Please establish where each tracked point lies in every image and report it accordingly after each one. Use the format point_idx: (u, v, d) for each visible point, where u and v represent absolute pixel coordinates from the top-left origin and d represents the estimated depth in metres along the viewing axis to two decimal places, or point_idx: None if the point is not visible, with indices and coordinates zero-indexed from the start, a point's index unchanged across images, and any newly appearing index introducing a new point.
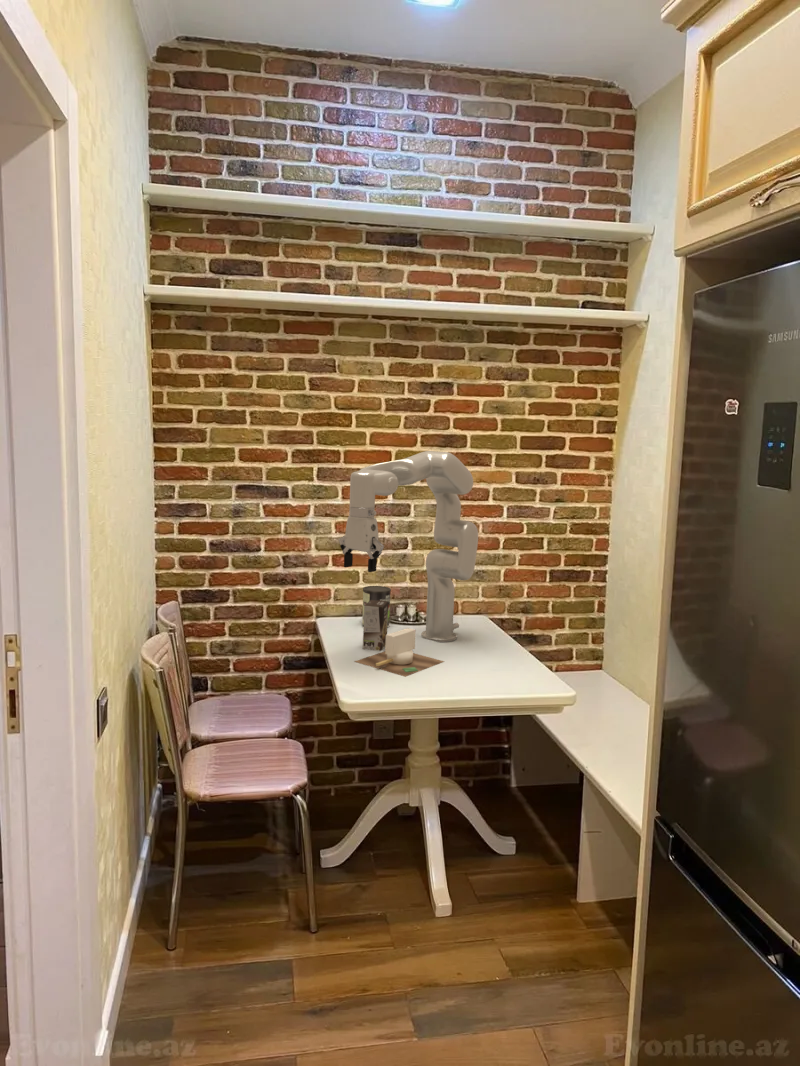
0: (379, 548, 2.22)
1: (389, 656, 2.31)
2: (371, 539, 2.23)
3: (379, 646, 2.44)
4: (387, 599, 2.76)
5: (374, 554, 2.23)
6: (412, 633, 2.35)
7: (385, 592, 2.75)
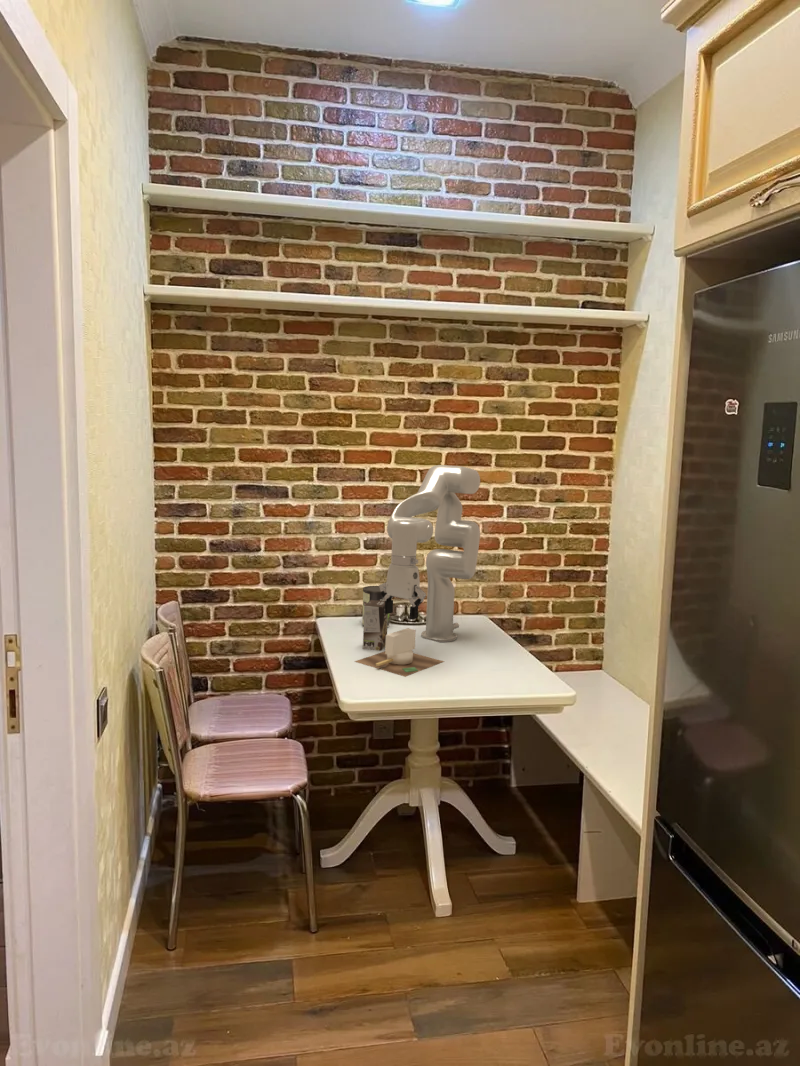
0: (421, 596, 2.25)
1: (389, 656, 2.31)
2: (413, 587, 2.26)
3: (379, 646, 2.44)
4: None
5: (416, 602, 2.26)
6: (412, 633, 2.35)
7: None
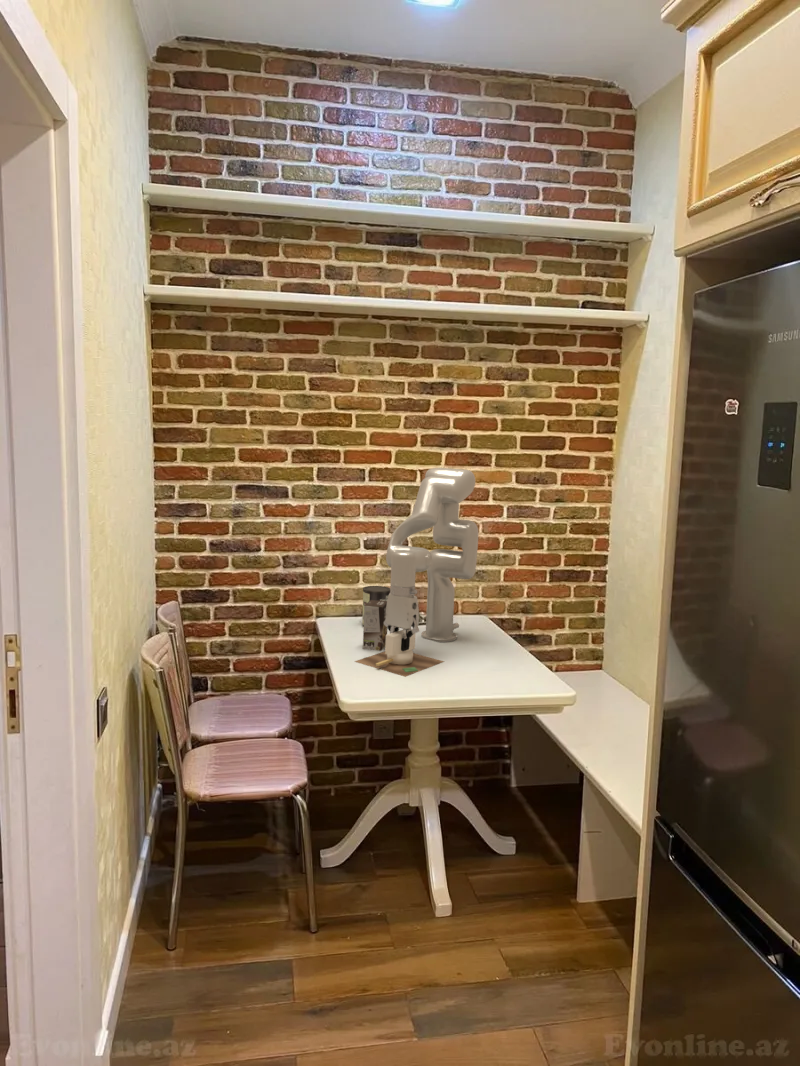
0: (414, 631, 2.29)
1: (389, 656, 2.31)
2: (412, 617, 2.28)
3: (379, 646, 2.44)
4: (387, 599, 2.76)
5: (408, 636, 2.30)
6: None
7: (385, 592, 2.75)
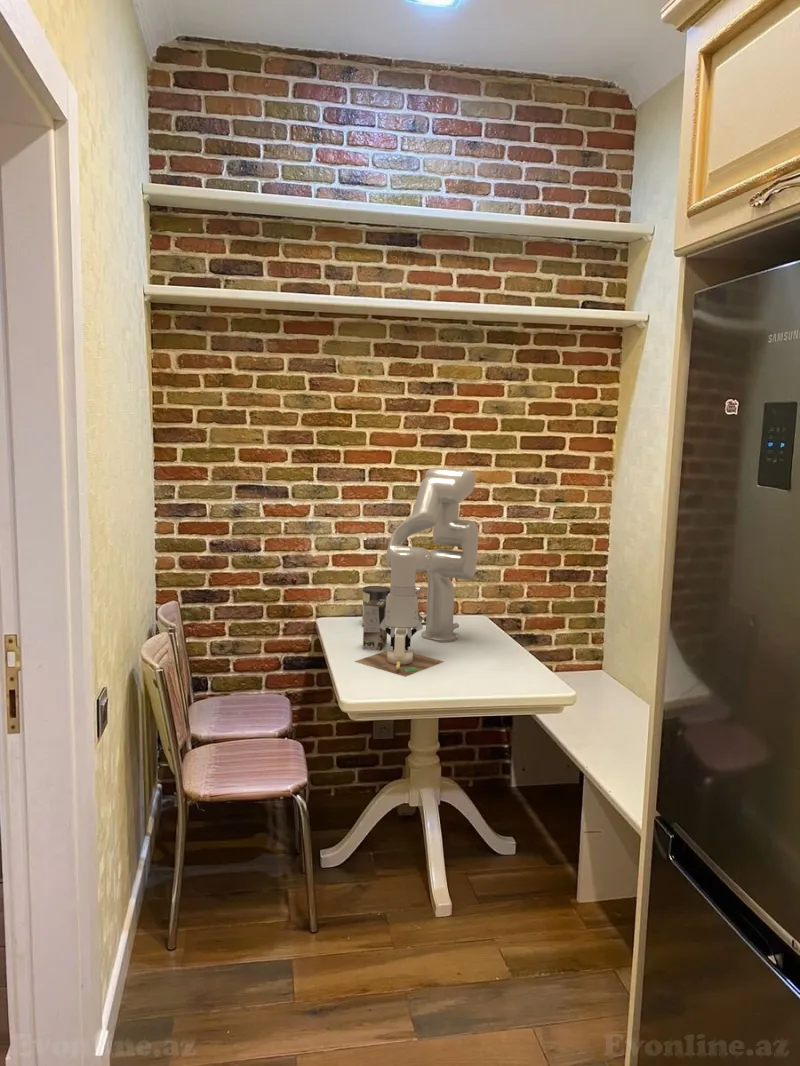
0: (419, 628, 2.32)
1: (395, 658, 2.30)
2: None
3: (379, 646, 2.44)
4: None
5: (413, 634, 2.32)
6: (406, 631, 2.37)
7: (385, 592, 2.75)
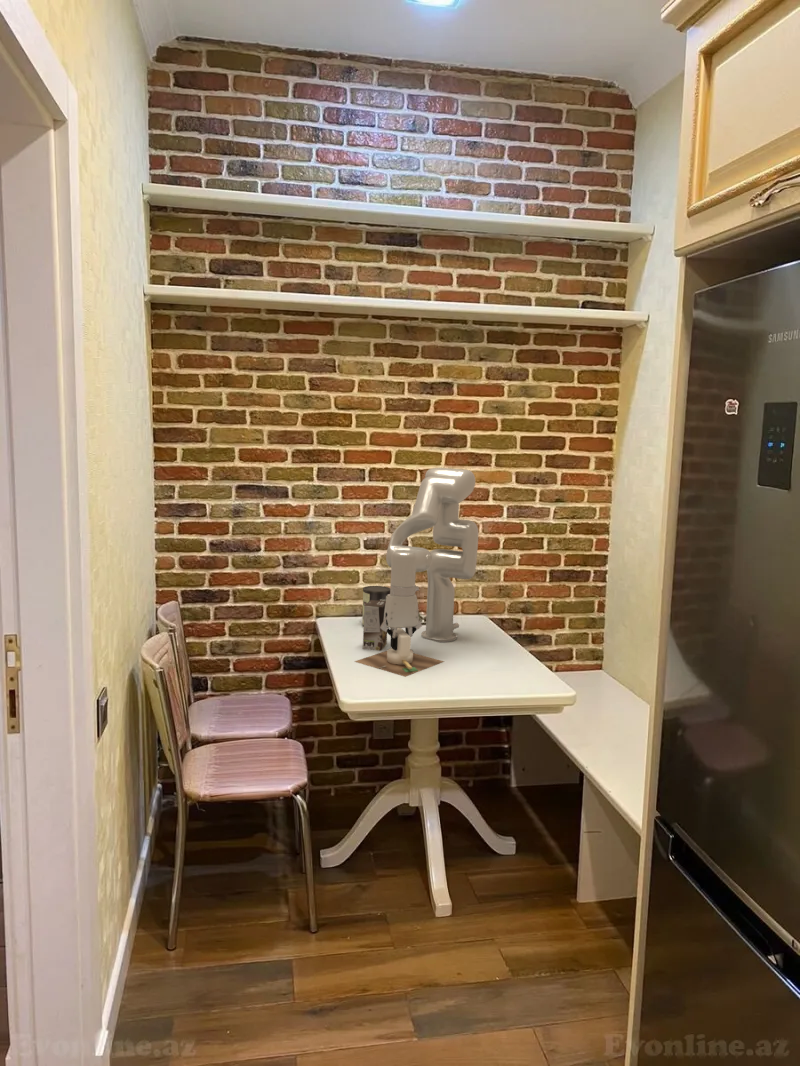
0: (418, 626, 2.34)
1: (400, 658, 2.30)
2: None
3: (379, 646, 2.44)
4: None
5: None
6: None
7: (385, 592, 2.75)
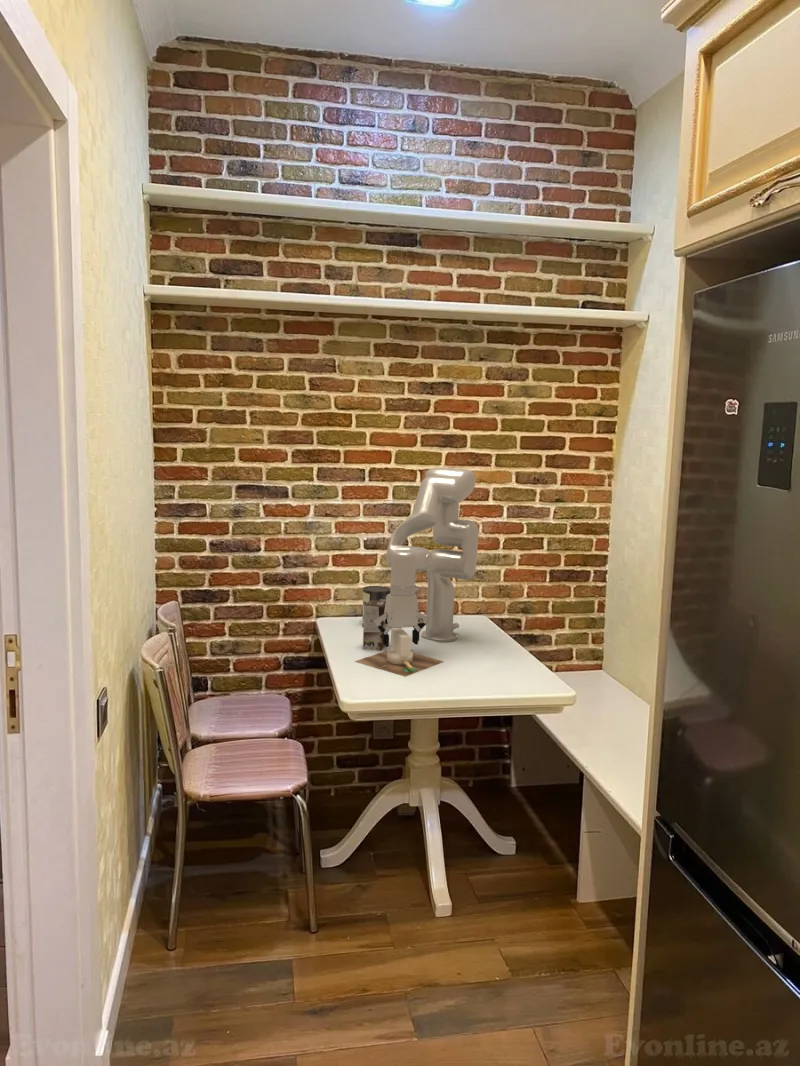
0: (425, 620, 2.35)
1: (400, 658, 2.30)
2: None
3: (379, 646, 2.44)
4: None
5: (420, 626, 2.34)
6: None
7: (385, 592, 2.75)
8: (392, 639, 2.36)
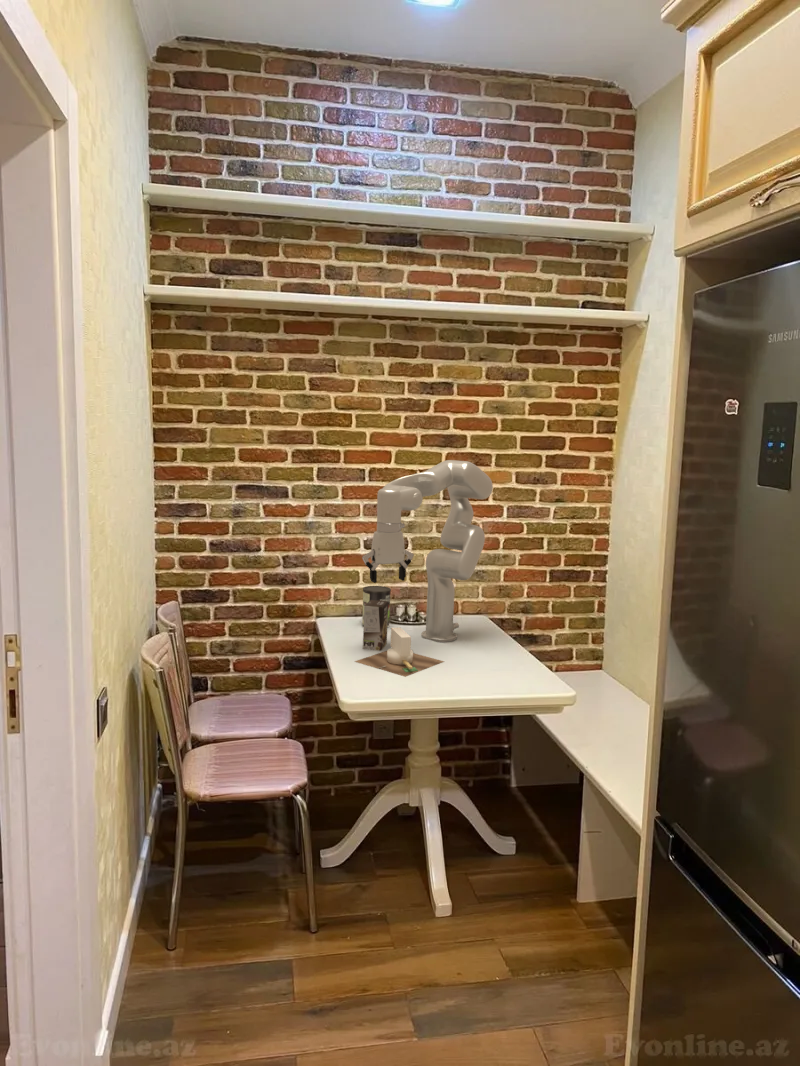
0: (411, 556, 2.41)
1: (400, 658, 2.30)
2: None
3: (379, 646, 2.44)
4: (387, 599, 2.76)
5: (407, 563, 2.41)
6: None
7: (385, 592, 2.75)
8: (392, 639, 2.36)
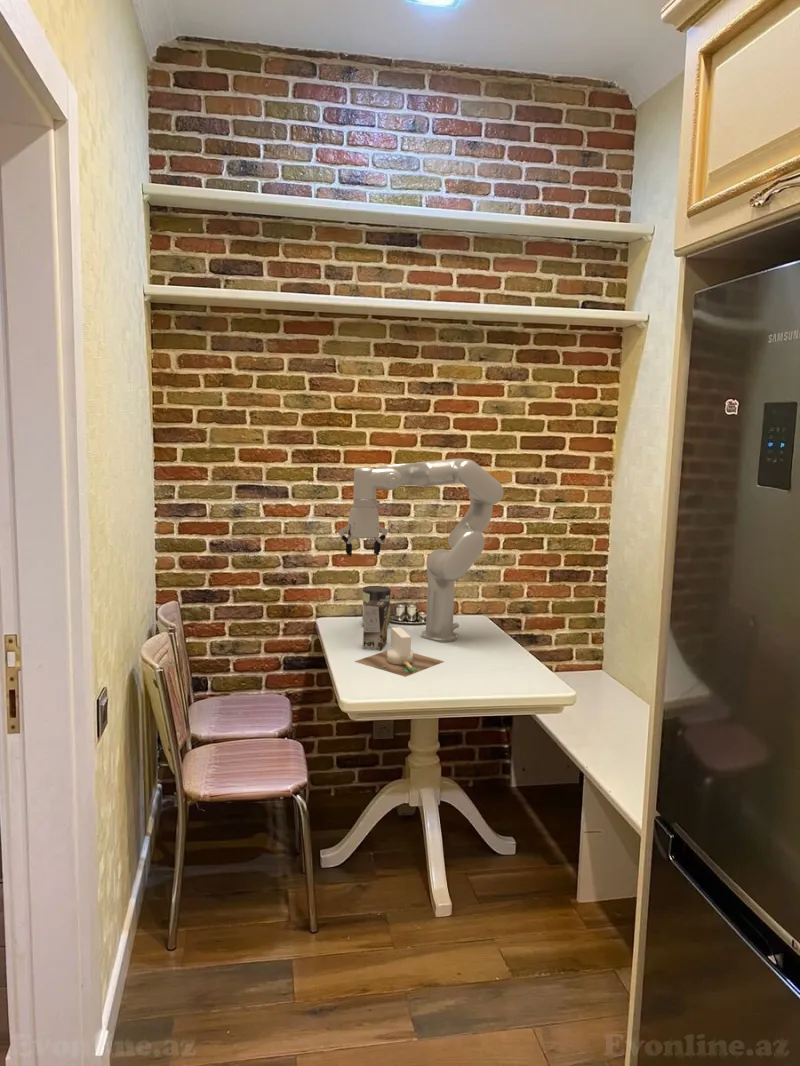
0: (386, 532, 2.56)
1: (400, 658, 2.30)
2: (378, 526, 2.54)
3: (379, 646, 2.44)
4: (387, 599, 2.76)
5: (381, 538, 2.55)
6: None
7: (385, 592, 2.75)
8: (392, 639, 2.36)
